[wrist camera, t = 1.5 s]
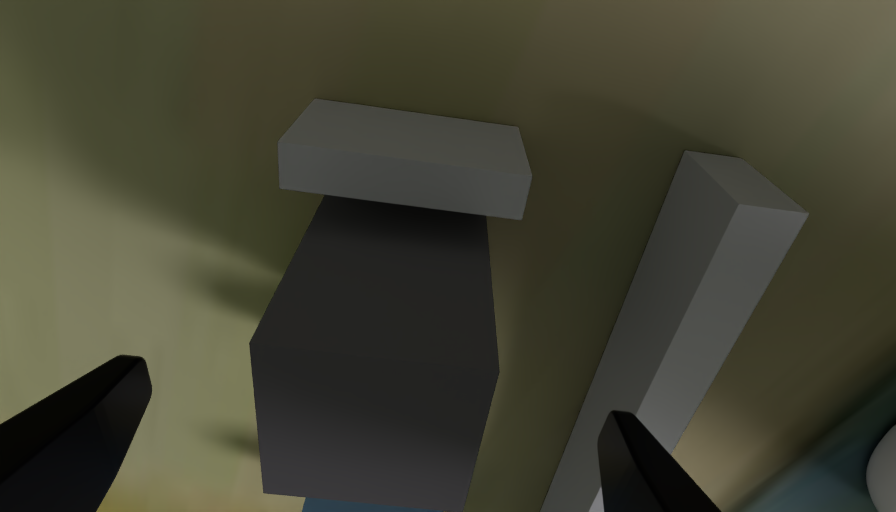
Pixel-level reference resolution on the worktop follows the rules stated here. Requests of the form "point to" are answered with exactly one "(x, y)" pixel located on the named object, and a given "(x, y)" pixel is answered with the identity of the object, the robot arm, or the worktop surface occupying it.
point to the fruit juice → (883, 473)
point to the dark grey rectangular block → (378, 357)
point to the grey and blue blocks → (651, 292)
